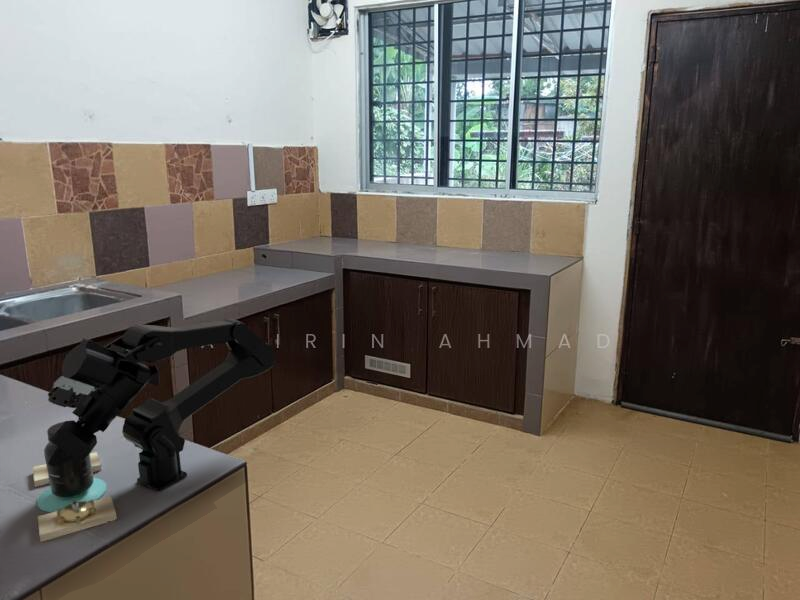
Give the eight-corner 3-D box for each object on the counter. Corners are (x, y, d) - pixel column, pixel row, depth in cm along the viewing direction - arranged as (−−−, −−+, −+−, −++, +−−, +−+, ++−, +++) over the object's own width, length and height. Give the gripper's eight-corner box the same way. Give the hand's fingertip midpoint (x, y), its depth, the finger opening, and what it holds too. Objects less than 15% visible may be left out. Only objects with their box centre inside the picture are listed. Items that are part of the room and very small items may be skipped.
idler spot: (35, 489, 111) (35, 488, 110) (102, 472, 116) (102, 471, 116) (38, 519, 102) (38, 518, 101) (110, 499, 107) (110, 498, 107)
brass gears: (49, 463, 117) (47, 448, 117) (81, 455, 120) (79, 441, 120) (59, 529, 97) (56, 512, 96) (97, 518, 100) (95, 502, 99)
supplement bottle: (45, 501, 105) (32, 439, 102) (59, 478, 112) (48, 419, 108) (88, 496, 106) (77, 435, 103) (99, 474, 113) (89, 416, 109)
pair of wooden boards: (33, 472, 116) (32, 467, 116) (97, 457, 122) (96, 451, 122) (40, 542, 96) (39, 535, 95) (116, 519, 101) (115, 513, 101)
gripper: (94, 345, 112) (40, 405, 114) (54, 383, 94) (-10, 454, 96) (144, 382, 115) (91, 440, 117) (115, 426, 97) (52, 494, 99)
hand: (58, 454), depth 107 cm, fingers closed on supplement bottle, 6 cm apart
